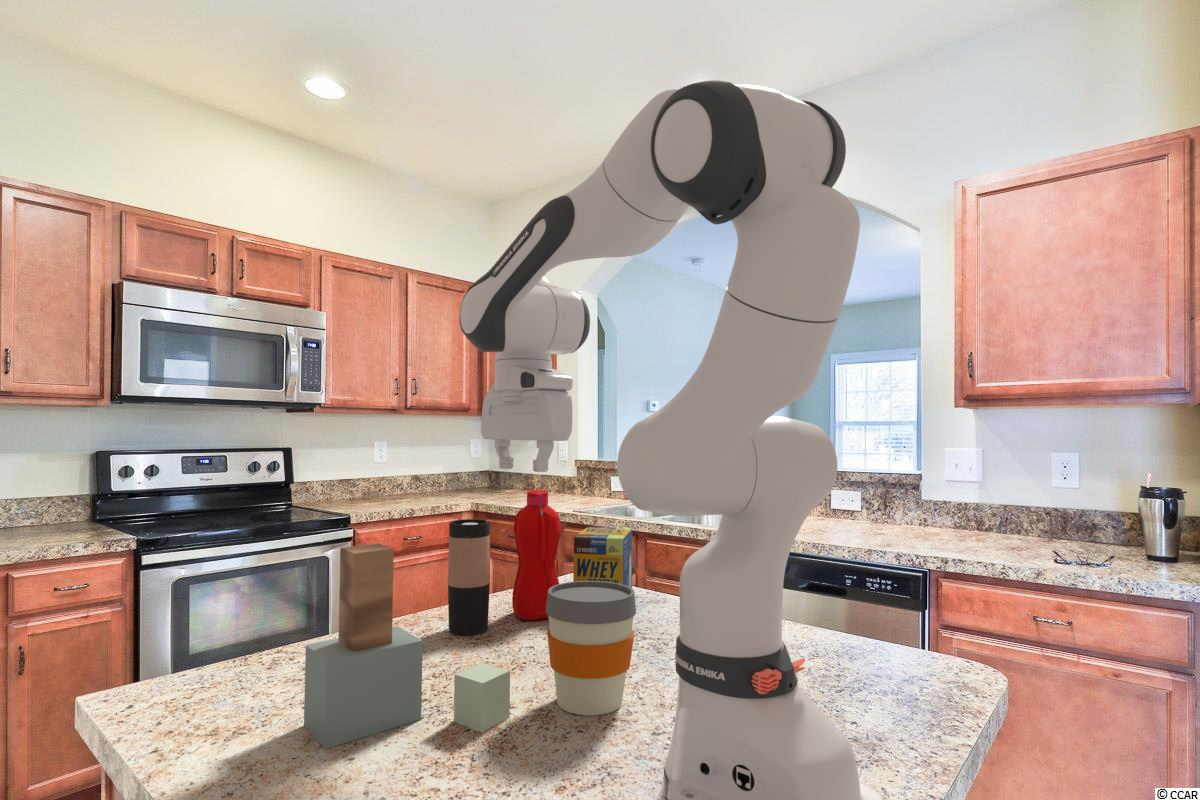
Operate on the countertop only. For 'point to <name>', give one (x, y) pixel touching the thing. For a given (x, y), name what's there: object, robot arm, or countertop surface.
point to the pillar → (366, 596)
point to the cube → (481, 696)
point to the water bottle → (535, 556)
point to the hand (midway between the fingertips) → (522, 470)
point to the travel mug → (468, 576)
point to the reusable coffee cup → (590, 644)
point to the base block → (361, 688)
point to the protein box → (603, 555)
